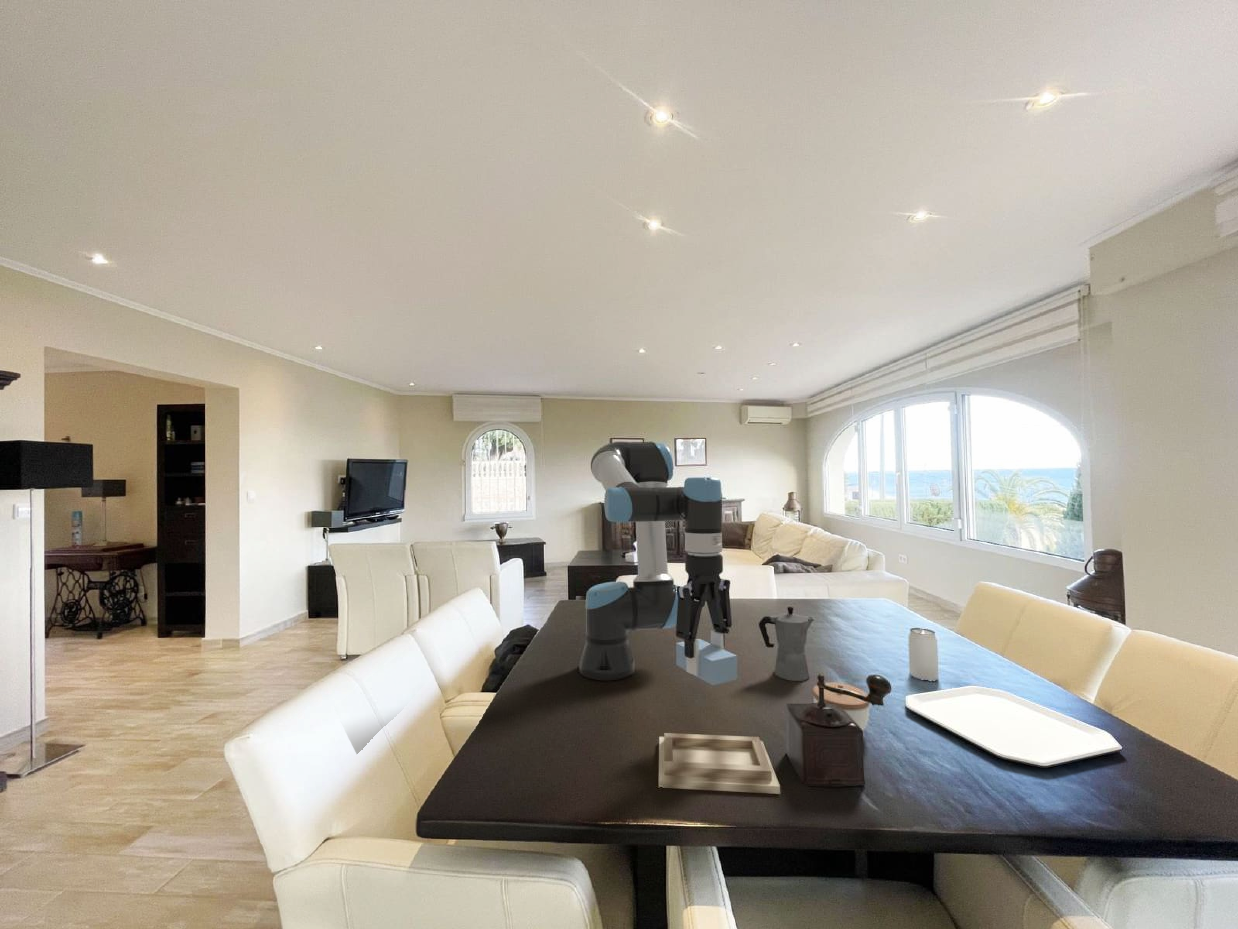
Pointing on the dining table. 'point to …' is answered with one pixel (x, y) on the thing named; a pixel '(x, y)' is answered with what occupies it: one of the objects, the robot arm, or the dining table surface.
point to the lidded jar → (846, 702)
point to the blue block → (711, 663)
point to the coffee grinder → (829, 737)
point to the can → (923, 654)
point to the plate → (1012, 726)
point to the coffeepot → (789, 644)
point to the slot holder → (715, 763)
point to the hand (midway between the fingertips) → (705, 668)
